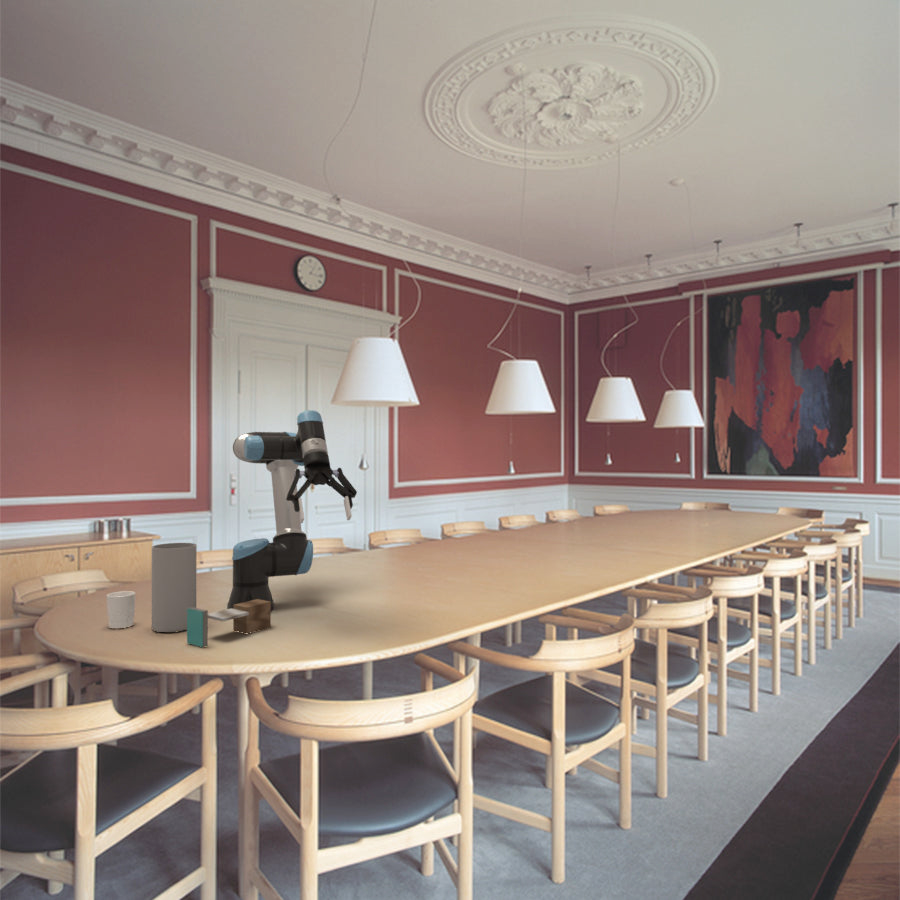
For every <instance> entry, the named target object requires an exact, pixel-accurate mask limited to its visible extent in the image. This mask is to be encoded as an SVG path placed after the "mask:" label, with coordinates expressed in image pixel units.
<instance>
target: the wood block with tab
mask: <svg viewBox="0 0 900 900" xmlns="http://www.w3.org/2000/svg"><path fill="white" fill-rule="evenodd" d="M271 611H272V610H271V601H265V600H260V599H255V600H251V601H247V602H243V603H239V604H235V605H233V609H232V608H231V609H227V608H226V609H223V610H218V611H215V612H211V613H208V619H210V620H214V621H219V622H226V621H230V620H232V621H233V623H232V624H233V627H232V628H233V630H234V631H239V632H243V633H250V632H254V631H257V632H259V631H258V630H261V631H263V630H262V629H264V630H266V629H265V628H268V629H270V628H269V627H272V624H271V623H272V622H271V619H272V615H271ZM234 631H233V632H234ZM254 633H255V632H254Z"/></svg>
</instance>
